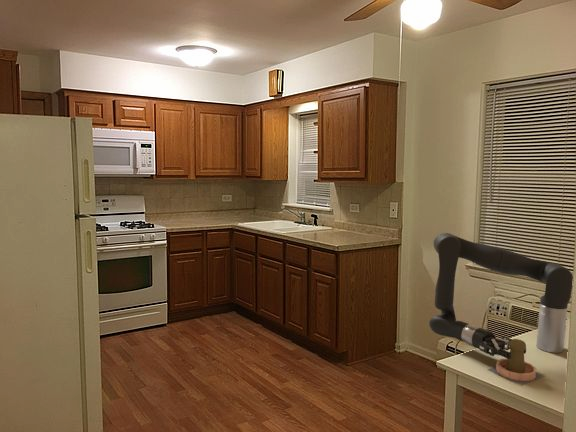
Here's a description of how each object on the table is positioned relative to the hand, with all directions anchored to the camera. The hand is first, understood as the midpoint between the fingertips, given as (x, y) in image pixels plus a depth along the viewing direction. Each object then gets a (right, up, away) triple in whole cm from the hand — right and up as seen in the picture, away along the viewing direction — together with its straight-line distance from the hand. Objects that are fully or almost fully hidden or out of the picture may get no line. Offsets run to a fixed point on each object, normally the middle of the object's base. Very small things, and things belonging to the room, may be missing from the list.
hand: (518, 353), depth 163 cm
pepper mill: (0, -7, +1) cm, 7 cm away
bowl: (0, -7, +1) cm, 7 cm away
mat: (0, -7, +1) cm, 8 cm away
